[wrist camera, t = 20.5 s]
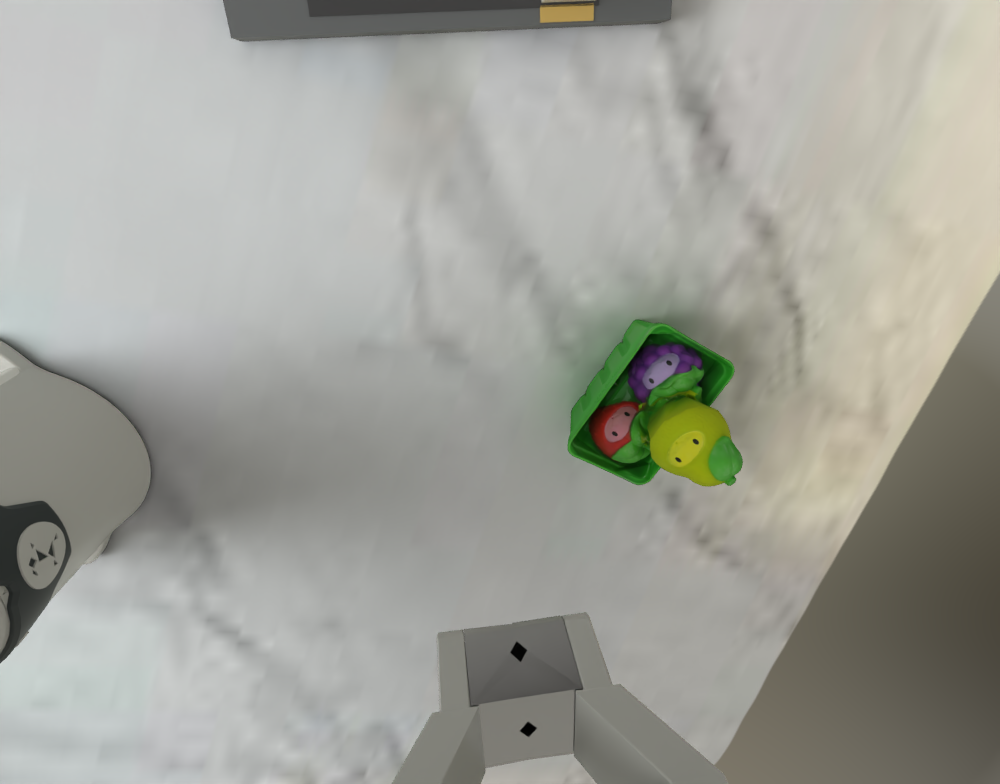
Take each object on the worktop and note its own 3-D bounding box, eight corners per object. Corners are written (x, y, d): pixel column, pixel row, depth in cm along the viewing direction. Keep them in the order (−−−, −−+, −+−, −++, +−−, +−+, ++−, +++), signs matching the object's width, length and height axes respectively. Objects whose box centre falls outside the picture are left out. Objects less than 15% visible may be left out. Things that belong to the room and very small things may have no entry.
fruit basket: (631, 295, 42) (699, 356, 32) (719, 347, 45) (806, 418, 35) (548, 416, 46) (585, 505, 36) (633, 457, 49) (690, 550, 39)
